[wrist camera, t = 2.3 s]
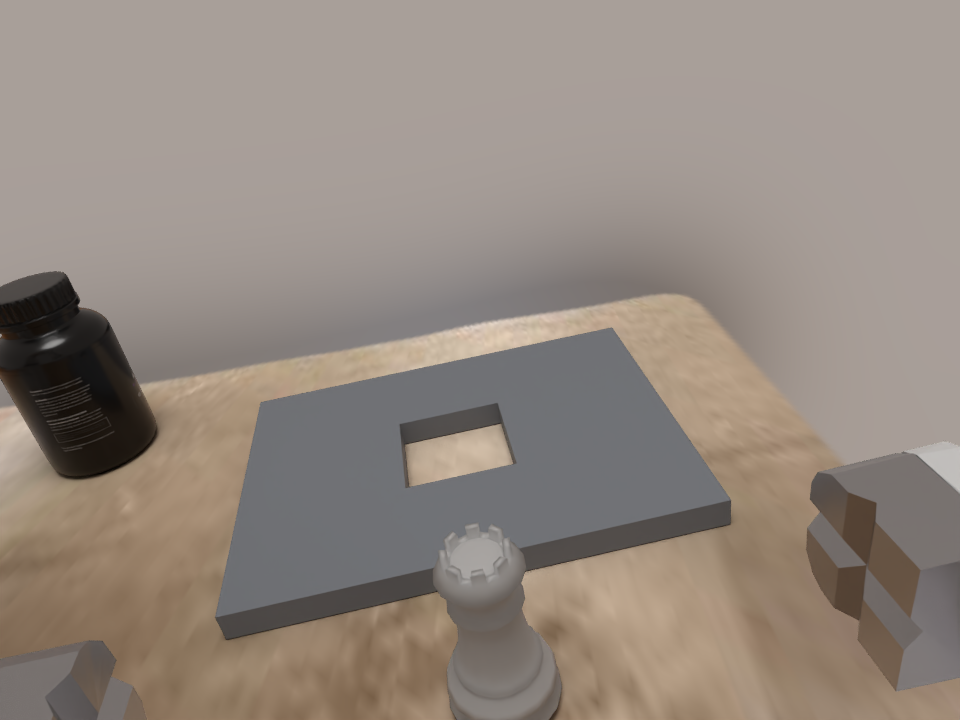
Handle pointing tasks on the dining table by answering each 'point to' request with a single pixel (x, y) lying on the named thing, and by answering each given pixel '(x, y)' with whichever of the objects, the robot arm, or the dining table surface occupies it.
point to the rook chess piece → (493, 631)
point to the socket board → (456, 478)
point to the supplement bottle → (70, 377)
